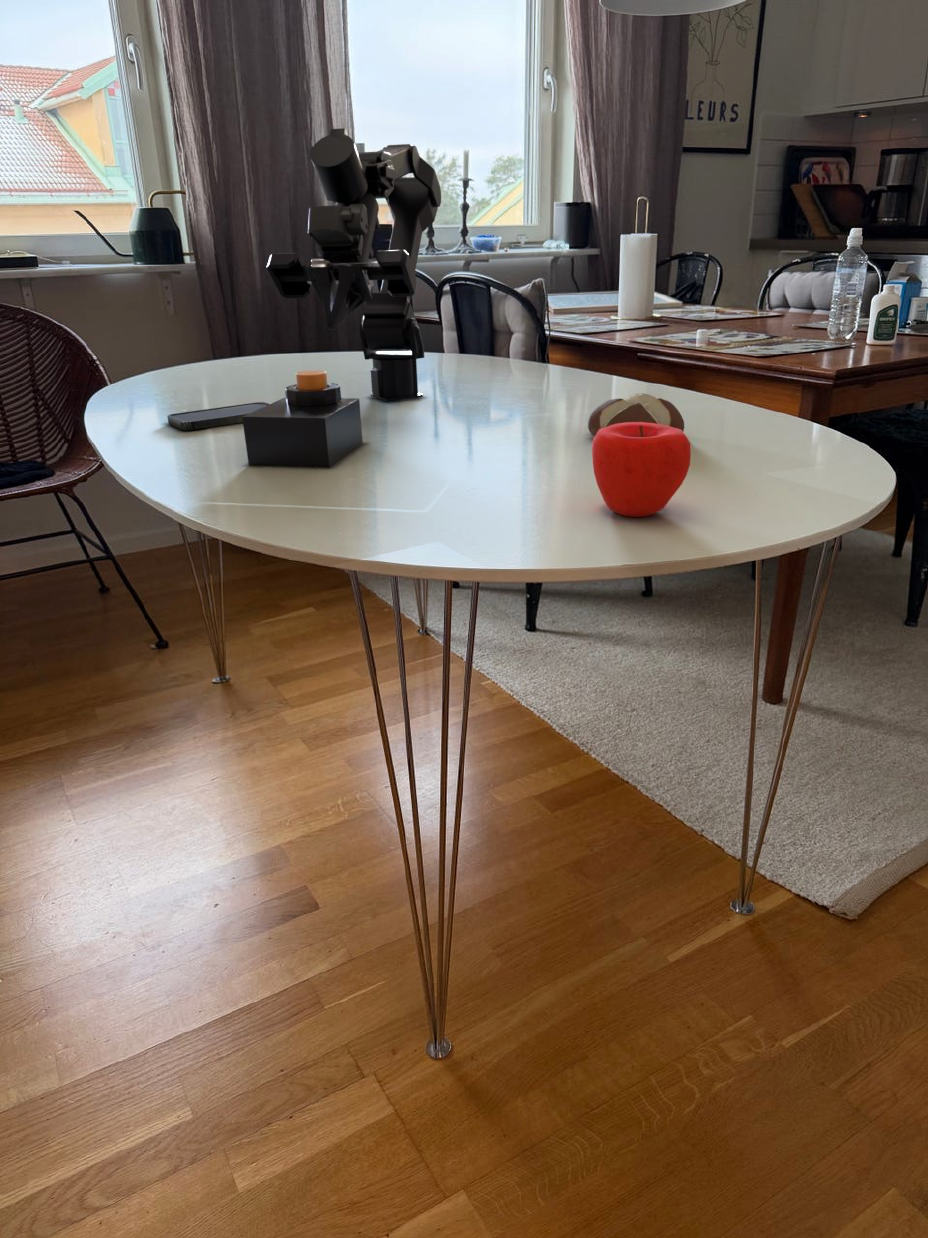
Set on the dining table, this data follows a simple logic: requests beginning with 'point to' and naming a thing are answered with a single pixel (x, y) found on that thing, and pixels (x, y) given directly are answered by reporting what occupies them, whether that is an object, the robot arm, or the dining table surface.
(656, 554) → the dining table surface
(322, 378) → the button
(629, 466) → the apple
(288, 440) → the black switch box
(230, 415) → the phone
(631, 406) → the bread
